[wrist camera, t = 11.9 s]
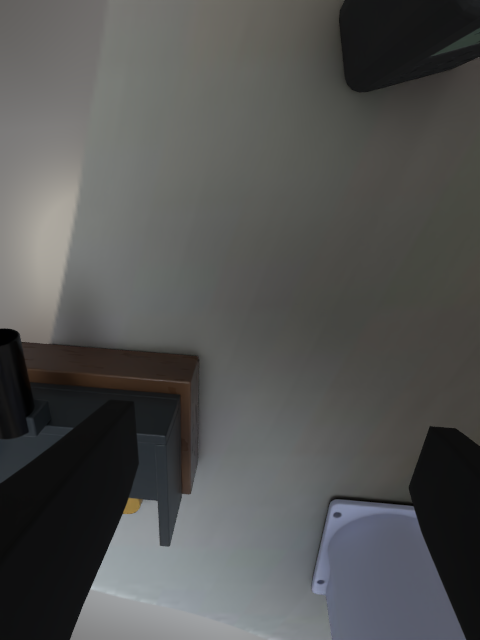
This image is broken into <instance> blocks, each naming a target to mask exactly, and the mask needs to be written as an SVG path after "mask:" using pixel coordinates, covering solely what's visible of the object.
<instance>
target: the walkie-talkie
mask: <svg viewBox="0 0 480 640" xmlns="http://www.w3.org/2000/svg"><path fill="white" fill-rule="evenodd" d="M339 23H340V33H341V43H342V52H343V62H344V72H345V78H346V82H347V84H348V85H349V86H350V87H351V89H352V90H355V91H358V92H368V91H372V90H376V89H379V88H383V87H387V86H391V85H394V84H398V83H402V82H405V81H409V80H413V79H417V78H420V77H424V76H428V75H431V74H435V73H439V72H443V71H446V70H450V69H453V68H455V67H457V66H459V65H462V64H464V63H466V62H468V61H471V60H473V59H475V58H478V57H480V0H345V1H344V3H343V5H342V7H341V10H340V17H339Z"/></svg>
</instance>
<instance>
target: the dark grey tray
mask: <svg viewBox="0 0 480 640" xmlns="http://www.w3.org/2000/svg"><path fill="white" fill-rule="evenodd" d="M110 399H112V400H124V401H134V406H135V418H136V431H137V444H138V456H139V465H138V469H137V472H136V476H135V479H134V482H133V486H132V489H131V492H130V495H129V498H134V499H145V500H156V501H158V515H159V535H160V546H168V547H169V546H170V543H171V539H172V535H173V531H174V527H175V523H176V518H177V514H178V510H179V506H180V502H181V498H182V483H181V404H180V395H178V394H166V393H154V392H142V391H131V390H119V389H107V388H95V387H83V386H71V385H59V384H47V383H35V382H30V380H29V376H28V371H27V366H26V362H25V357H24V352H23V348H22V343H21V339H20V334H19V333H18V332H17V331H15V330H12V329H0V483H2V482H3V481H5V480H6V479H7V478H9V477H10V476H11V475H13V474H14V473H16V472H17V471H18V470H20V469H21V468H23V467H24V466H25V465H27V464H28V463H30V462H31V461H32V460H34V459H35V458H36V457H38V456H39V455H40V454H42V453H43V452H44V451H45V450H47V449H48V448H49V447H51V446H52V445H53V444H54V443H56V442H57V441H58V440H60V439H61V438H62V437H63V436H65V435H66V434H67V433H68V432H70V431H71V430H72V429H73V428H75V427H76V426H77V425H78V424H80V423H81V422H82V421H83V420H85V419H86V418H87V417H88V416H89V415H91V414H92V413H93V412H94V411H96V410H97V409H98V408H99V407H101V406H102V405H103V404H105V403H106V402H107V401H108V400H110Z"/></svg>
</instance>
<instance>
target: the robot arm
mask: <svg viewBox="0 0 480 640" xmlns="http://www.w3.org/2000/svg"><path fill="white" fill-rule="evenodd" d="M138 465H139V456H138V444H137V431H136V418H135V406H134V401H124V400H112V399H110V400H108V401H107V402H106V403H105V404H103V405H102V406H101V407H99V408H98V409H97V410H96V411H94V412H93V413H92V414H91V415H89V416H88V417H87V418H86V419H85V420H83V421H82V422H81V423H80V424H78V425H77V426H76V427H75V428H73V429H72V430H71V431H70V432H68V433H67V434H66V435H65V436H63V437H62V438H61V439H60V440H58V441H57V442H56V443H54V444H53V445H52V446H51V447H49V448H48V449H47V450H45V451H44V452H43V453H42V454H40V455H39V456H38V457H36V458H35V459H34V460H32V461H31V462H30V463H28V464H27V465H25V466H24V467H23V468H21V469H20V470H18V471H17V472H16V473H14V474H13V475H11V476H10V477H9V478H7V479H6V480H5V481H3V482H2V483H0V640H70V638H71V635H72V632H73V630H74V627H75V624H76V622H77V619H78V617H79V614H80V612H81V609H82V606H83V604H84V602H85V599H86V597H87V595H88V593H89V590H90V588H91V586H92V584H93V581H94V579H95V577H96V574H97V572H98V570H99V567H100V565H101V563H102V560H103V558H104V556H105V554H106V551H107V549H108V547H109V544H110V542H111V540H112V537H113V535H114V533H115V530H116V528H117V526H118V523H119V521H120V519H121V516H122V514H123V512H124V509H125V507H126V504H127V502H128V498H129V495H130V492H131V489H132V486H133V482H134V479H135V476H136V472H137V469H138ZM409 491H410V495H411V498H412V502H413V506H408V505H397V504H386V503H375V502H364V501H353V500H342V499H335V500H333V501H331V503H330V505H329V509H328V514H327V518H326V522H325V527H324V531H323V536H322V540H321V544H320V549H319V553H318V558H317V562H316V566H315V571H314V575H313V580H312V584H311V586H312V591H313V593H315V594H320V595H326V600H327V607H328V615H329V622H330V629H331V636H332V640H480V446H478V445H477V444H476V443H475V442H473V441H472V440H471V439H469V438H468V437H467V436H465V435H464V434H463V433H461V432H460V431H459V430H457V429H456V428H444V427H432V426H430V427H429V430H428V433H427V436H426V439H425V442H424V445H423V447H422V450H421V453H420V456H419V459H418V462H417V465H416V468H415V471H414V473H413V476H412V479H411V482H410V485H409Z"/></svg>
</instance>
